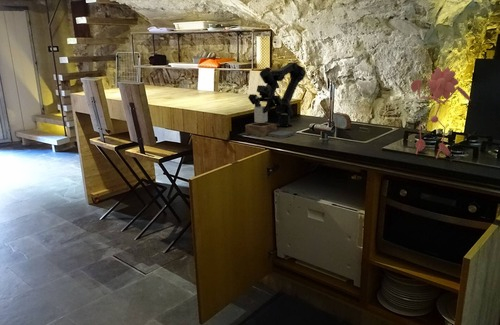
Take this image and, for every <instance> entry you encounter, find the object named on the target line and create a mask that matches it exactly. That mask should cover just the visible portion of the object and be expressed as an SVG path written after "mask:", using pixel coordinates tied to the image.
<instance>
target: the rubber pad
mask: <svg viewBox="0 0 500 325" xmlns="http://www.w3.org/2000/svg"><path fill="white" fill-rule="evenodd" d="M294 134H295V135H296V132H295V131H289V130H278V129H277V131H275V132H271V133H268V137H271V136H274V137H273V138H278V137H281V138H280V139H286V138H285V137H287V138H289V137H288V136H290V137H292V136H291V135H293V136H295V135H294Z"/></svg>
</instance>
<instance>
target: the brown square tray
mask: <svg viewBox="0 0 500 325" xmlns="http://www.w3.org/2000/svg"><path fill="white" fill-rule="evenodd" d="M277 125H278V123H273V122H264V123H258V122H252V123H248V124H245V125H244V126H245V134H246V133H247V134H253V135H252V136H254V135H258V136H257V137H260V136H264V137H267V136H266V135H268V133H271V132H275V131H278V126H277ZM247 134H246V135H247Z"/></svg>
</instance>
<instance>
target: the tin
mask: <svg viewBox="0 0 500 325" xmlns="http://www.w3.org/2000/svg"><path fill="white" fill-rule="evenodd" d="M332 114H333V119H334V122H335V127H334V128H336V129H341V130H348V129H350V128H351V127H352V119H351V117H350V115H349V114H346V113H343V112H339V111H338V112H334V113H332Z"/></svg>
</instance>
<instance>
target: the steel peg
mask: <svg viewBox="0 0 500 325" xmlns="http://www.w3.org/2000/svg"><path fill="white" fill-rule="evenodd" d="M265 106H266V105H261V106H257V107H255V106H254V109H253V111H254V113H253V114H254V115H253V116H254V123H256V122H258V123H264V122H266V123H268V118H269V117H268V111H267V112H266V113H263V111H264V109H265Z"/></svg>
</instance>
